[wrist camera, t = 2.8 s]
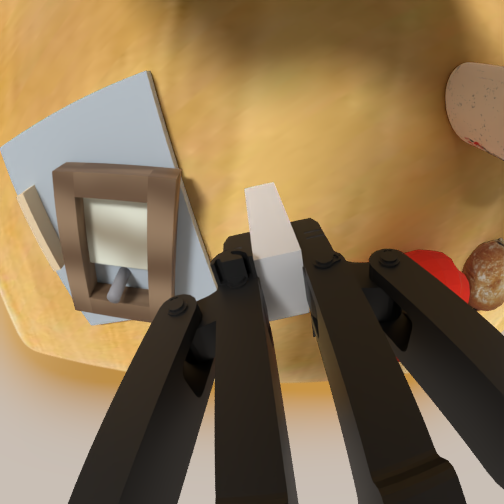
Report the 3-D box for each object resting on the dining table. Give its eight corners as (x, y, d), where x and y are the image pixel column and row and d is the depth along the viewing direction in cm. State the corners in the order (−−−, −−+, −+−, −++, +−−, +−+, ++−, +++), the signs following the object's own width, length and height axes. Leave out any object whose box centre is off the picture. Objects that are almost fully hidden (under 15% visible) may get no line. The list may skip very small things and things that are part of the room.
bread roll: (495, 235, 33) (533, 241, 25) (488, 302, 34) (523, 316, 26) (453, 234, 32) (495, 240, 25) (446, 310, 34) (484, 328, 26)
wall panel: (6, 144, 19) (-26, 161, 15) (150, 71, 18) (129, 69, 14) (94, 318, 31) (81, 349, 27) (222, 296, 30) (221, 332, 26)
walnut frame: (66, 161, 20) (52, 171, 18) (181, 169, 21) (176, 179, 19) (83, 294, 27) (75, 309, 25) (174, 307, 29) (171, 325, 27)
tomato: (347, 337, 35) (367, 395, 28) (331, 261, 29) (361, 325, 21) (439, 300, 34) (471, 348, 26) (445, 220, 27) (494, 266, 20)
